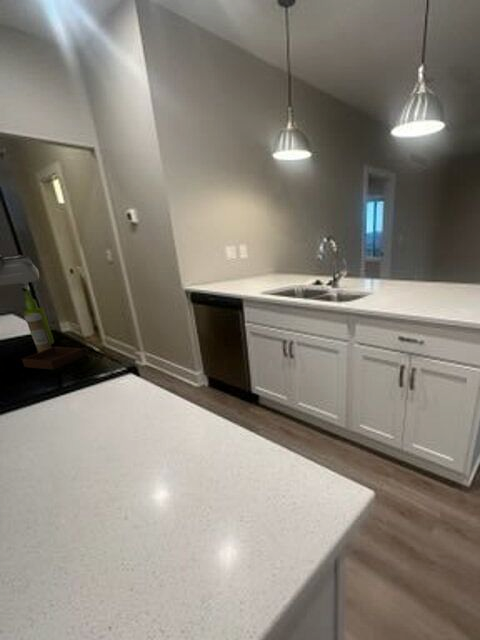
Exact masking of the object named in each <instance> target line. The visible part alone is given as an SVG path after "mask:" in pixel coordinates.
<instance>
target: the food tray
mask: <svg viewBox="0 0 480 640" xmlns="http://www.w3.org/2000/svg"><path fill="white" fill-rule="evenodd" d="M83 356H84V357H85V353H84V350H83V348H80V347H79V348H78V347H67V346H66V347H65V346H52V348H49V349H47V350H44V351H42V352H39V353H38V352H37V353H34V354H31V355H29V356H26V357H23V358H21V362H22V365H23V367H24V368H29V369H41V370H51V371H55V370H57V369H59V368H62V367H64V366H67V365H68V364H70V363H73V362H75V361H78V360H80V359H81V358H84V357H83Z"/></svg>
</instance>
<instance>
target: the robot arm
mask: <svg viewBox="0 0 480 640" xmlns="http://www.w3.org/2000/svg"><path fill="white" fill-rule="evenodd" d="M39 279H40V272H39V269H38V268H37V267H36V266H35V265H34V264H33V262H32V260H31V258H30V257H28V256H24V255H21V254H15V255H1V254H0V286H8V285H17V284H18V285H19V284H20V289H21V291H22V292H23V291H30V286H29V283H34V282H35V283H36V282H38V281H39Z"/></svg>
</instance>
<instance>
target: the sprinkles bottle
mask: <svg viewBox="0 0 480 640" xmlns="http://www.w3.org/2000/svg"><path fill="white" fill-rule="evenodd" d="M24 320H25V322H26V323H27V326H28V329H29V332H30V335H31V337H32V340H33V343H34V345H35V348H36V351H37V353H39V352H42V351H44V350H47V349H49V348H52V347H53V346H52V344H51V343H50V340H49V337H48V334H47V332H46V329H45V327H44V324H43V321H42V316H41V314H40V313H35V314H29V315H26V316H25V315H24Z"/></svg>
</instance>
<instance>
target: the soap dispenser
mask: <svg viewBox="0 0 480 640" xmlns="http://www.w3.org/2000/svg"><path fill="white" fill-rule="evenodd" d="M22 293H23V295H24V299H25V300H24V301H23V304H24V306H25V310H23V311H22V313H23V315H24V317H25V316H26V315H29V314H35V313H40V314H41V316H42V321H43V324H44V327H45V329H46V332H47V334H48V337H49V340H50V343H51V345H53V344H54V343H55V340H54V337H53V336H54V335H53V333H52V330H51V328H50V325H49V322H48V319H47V316H46V313H45V310H44V308H43V307H39V306H38V303H37V301H36V299H35V298H33V297H32V293H31V290H29V291H23V290H22Z"/></svg>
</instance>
